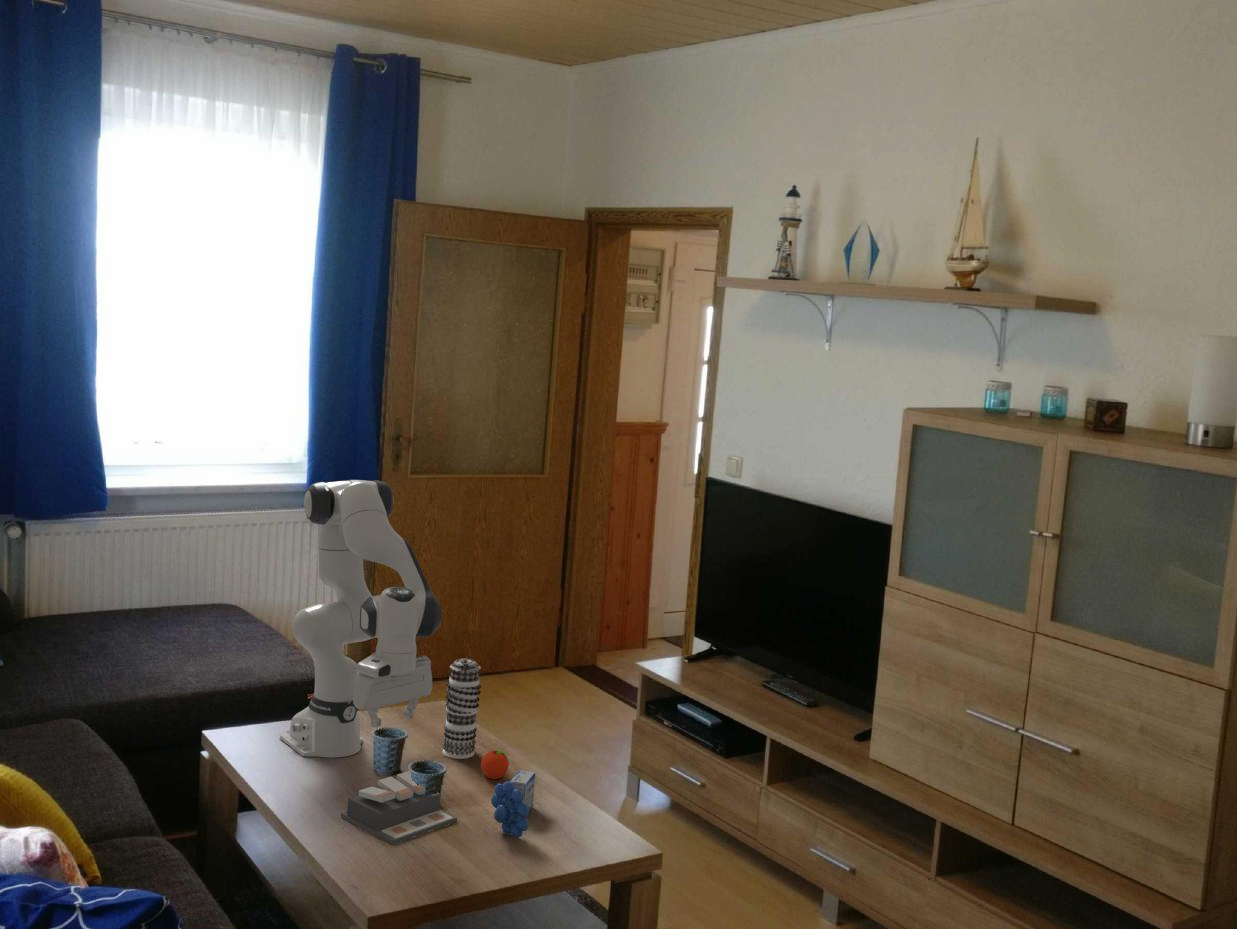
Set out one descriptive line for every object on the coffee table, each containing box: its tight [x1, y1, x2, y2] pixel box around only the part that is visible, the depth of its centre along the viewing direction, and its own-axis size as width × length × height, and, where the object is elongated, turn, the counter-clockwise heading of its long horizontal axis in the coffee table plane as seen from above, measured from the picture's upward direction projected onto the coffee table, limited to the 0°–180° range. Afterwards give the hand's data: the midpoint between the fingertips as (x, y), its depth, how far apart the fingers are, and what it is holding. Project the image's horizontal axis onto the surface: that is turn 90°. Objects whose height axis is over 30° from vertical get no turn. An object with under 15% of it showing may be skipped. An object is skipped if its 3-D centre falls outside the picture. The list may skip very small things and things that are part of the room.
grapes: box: [490, 780, 530, 839], centre depth 273 cm, size 12×7×12 cm, turn 49°
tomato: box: [480, 750, 513, 780], centre depth 306 cm, size 8×7×7 cm
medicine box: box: [509, 769, 536, 812], centre depth 287 cm, size 8×4×9 cm, turn 168°
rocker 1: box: [358, 786, 395, 803], centre depth 273 cm, size 8×4×1 cm, turn 51°
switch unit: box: [340, 782, 458, 846], centre depth 277 cm, size 18×19×5 cm
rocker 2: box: [377, 776, 414, 801], centre depth 277 cm, size 8×4×1 cm, turn 51°
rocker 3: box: [395, 770, 426, 795], centre depth 282 cm, size 8×4×1 cm, turn 51°
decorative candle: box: [442, 658, 482, 760], centre depth 319 cm, size 9×9×25 cm
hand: (392, 721), depth 271 cm, fingers open, 8 cm apart
